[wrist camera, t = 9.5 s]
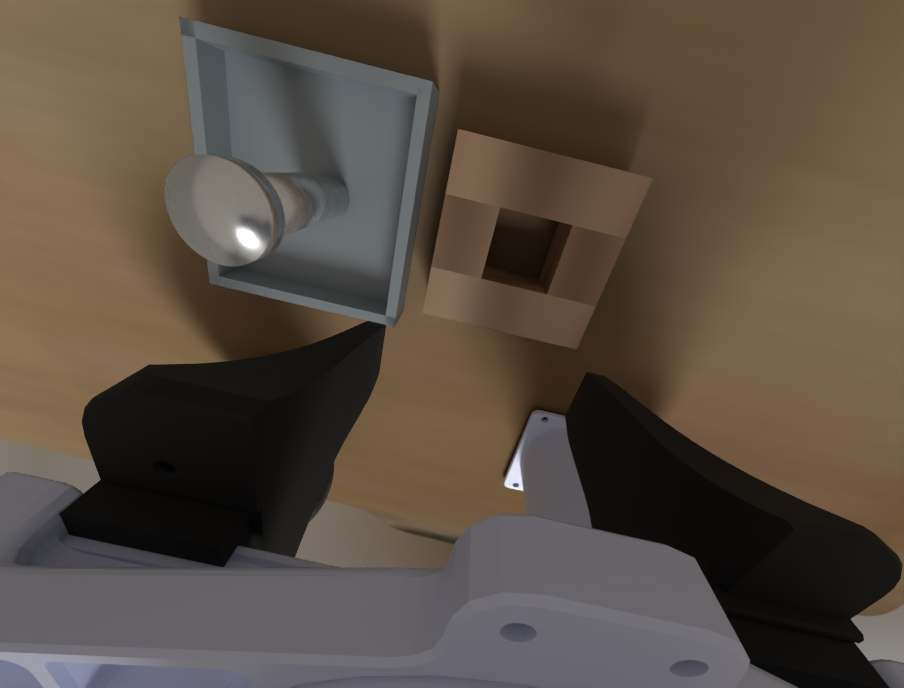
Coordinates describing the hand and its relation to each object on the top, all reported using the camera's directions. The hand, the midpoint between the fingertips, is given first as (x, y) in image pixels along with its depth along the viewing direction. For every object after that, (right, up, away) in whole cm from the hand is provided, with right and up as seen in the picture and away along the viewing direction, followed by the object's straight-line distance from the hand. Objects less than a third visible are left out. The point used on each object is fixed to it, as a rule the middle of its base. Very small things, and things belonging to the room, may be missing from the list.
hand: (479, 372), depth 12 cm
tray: (-8, +10, +8) cm, 15 cm away
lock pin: (-8, +9, +7) cm, 14 cm away
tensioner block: (+3, +7, +8) cm, 11 cm away
